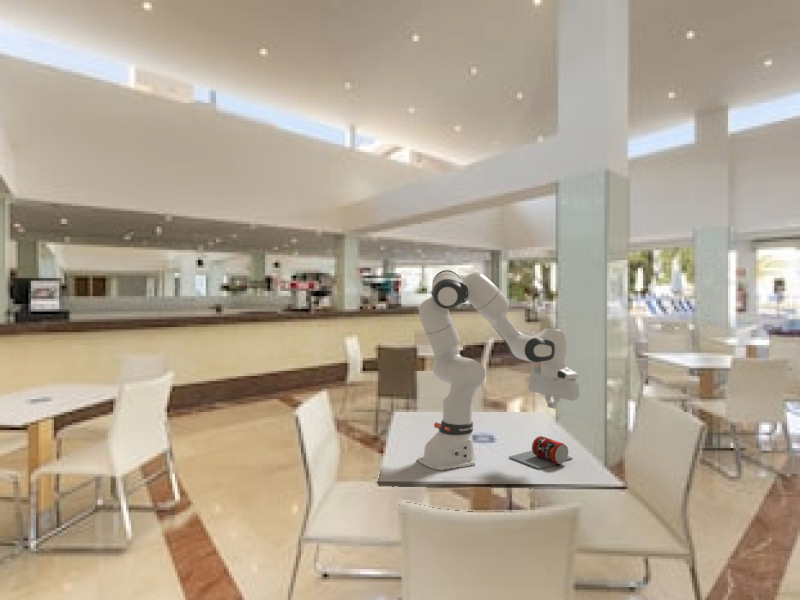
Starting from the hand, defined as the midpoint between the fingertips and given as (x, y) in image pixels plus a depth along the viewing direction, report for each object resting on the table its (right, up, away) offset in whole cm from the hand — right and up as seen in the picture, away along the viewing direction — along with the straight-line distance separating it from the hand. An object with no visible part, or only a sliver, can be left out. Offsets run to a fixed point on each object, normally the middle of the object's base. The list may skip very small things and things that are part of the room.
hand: (551, 407), depth 176 cm
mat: (-3, -21, +4) cm, 21 cm away
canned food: (+3, -16, -3) cm, 17 cm away
